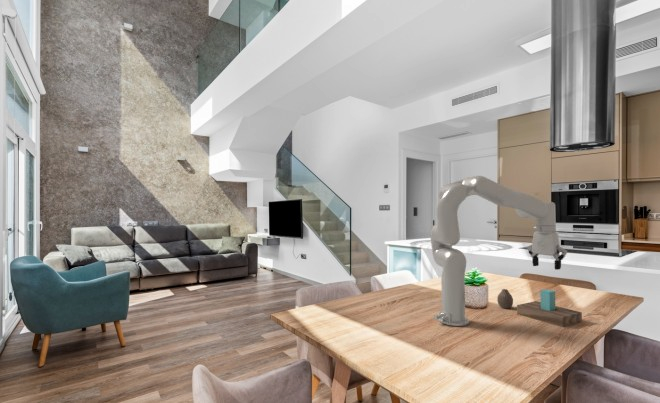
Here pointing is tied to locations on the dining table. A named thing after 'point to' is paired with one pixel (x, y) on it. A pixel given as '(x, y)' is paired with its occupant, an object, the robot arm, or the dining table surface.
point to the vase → (505, 299)
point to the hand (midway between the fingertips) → (546, 267)
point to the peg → (547, 300)
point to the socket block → (550, 314)
